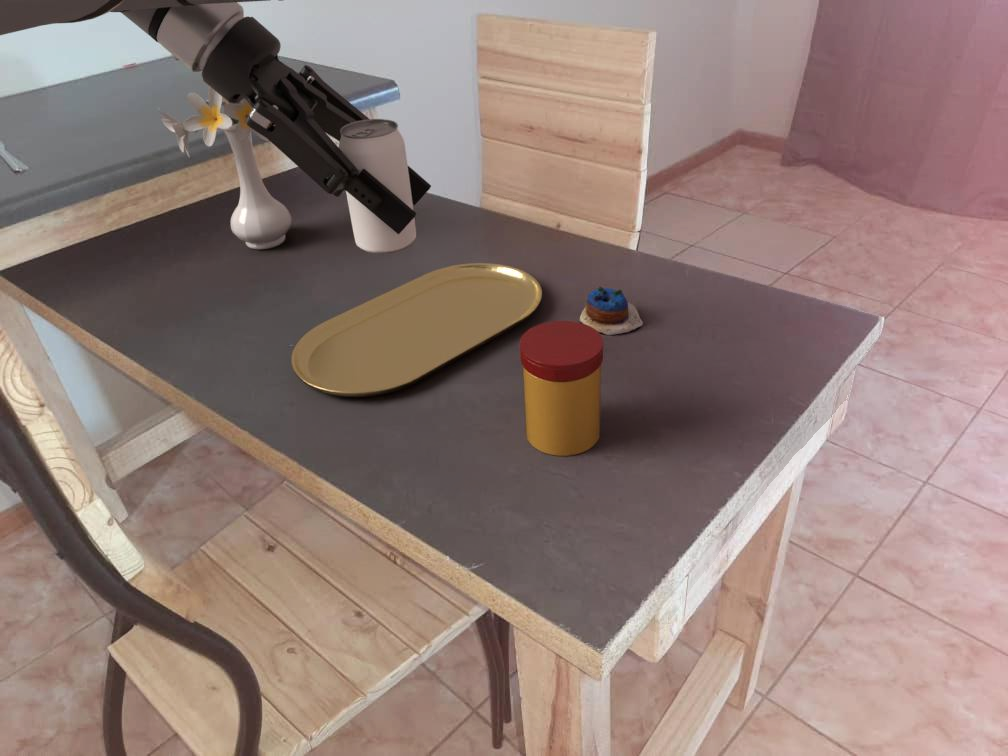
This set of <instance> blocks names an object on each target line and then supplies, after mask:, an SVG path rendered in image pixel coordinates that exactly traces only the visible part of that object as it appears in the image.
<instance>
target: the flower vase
mask: <svg viewBox="0 0 1008 756" xmlns="http://www.w3.org/2000/svg"><path fill="white" fill-rule="evenodd" d="M208 86H209V85H208ZM187 102H188V104H189V105H190V107H191V108H192V110H193V111H194V112H195V113H197V114H195V115H191V116H190V117H187V118H186V119H185V120H184V122H183V121H182V120H179V119H178V118H176V117H174V116H172V115H170V114H169V113H167V112H166V111H164V110H163V109H161V108H159V106H156V108H157V110H158V111H159V112H160V113H161V115H162V116H163V117H164V118H161V122H162V123H163V125H164V126H165V127H166V128H167V129H168V130H169V131H170V132H172V133H176V142H177V145H178V147H179V150H180V151H181V152H182V154H184V153H185V152H186V154H187V156H188V159H190V158H191V156H190V147H189V145H190V144H189V143H190V142H189V133H191V132H192V133H193V132H194V134H197V133H198V132H199V131H200V130H202V140H203V142H204V144H205V146H206V147H212V146H213V145H214V143H215V141H216V137H217V131H218V129H221V130H222V131H223V132H224V134H225V136H226V138H227V140H228V142H229V145H230V148H231V151H232V154H233V158H234V161H235V167H236V171H237V175H238V181H239V199H238V200H239V201H238V204H237V206H236V207H235V208H234V210H233V212H232V214H231V217H230V220H229V221H230V222H229V224H230V229H231V232H232V234H234V236H236V238H238V239H239V240H240V241H242V242H244V243H245V245H246V246H247V247H248V248H250V249H252V250H256V251H257V250H258V251H259V250H268V249H269V250H270V249H272V248H276V247H278V246H281V244H283V243H284V242H285V241H286V237H287V236H286V234H287V233H288V231H289V230H290V229H291V225H292V221H293V218H292V215H291V213H290V210H289V209H288V208H287V206H285V205H284V204H283V203H282V202H280V201H279V200H278V199H275V197H273V196H272V195H271V193H270V192H269V191H268V189H267V187H266V185H265V183H264V181H263V179H262V175H261V172H260V168H259V165H258V162H257V159H256V154H255V151H254V147H253V138H252V132H253V133H254V134H255V135H256V136H257V137H258V138H259V139H261V140H262V141H265V142H270V141H269V140H268V139H267V138H266V137H264V136H263V135H261V134H260V133H258V132H256V131H255V130H253V129H252V128H250V127H249V126H248V125H247V124H246V123H245V119H246V118H247V116H248V115H249V113H250V112H251V110H252V109H253V108H252V107H251V106H250V104H249V103H248V102H247V100H246V99H245V98H244V99H243V100H241V101H240V102H238V103H235V104H232V103H230V102H228V101H227V100H226V99H224V98H223V97H222V96H221V95H220V94H218V93H217V92H216V91H215V90H214V89H212V88H211V87H210V86H209V87H208V99H206V100H205V99H204V98H203V97H201V96H200V95H199V94H197V93H195V92H189V93H188V94H187ZM221 109H222V110H223V112H222V111H221Z"/></svg>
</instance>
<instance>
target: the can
mask: <svg viewBox="0 0 1008 756" xmlns="http://www.w3.org/2000/svg"><path fill="white" fill-rule="evenodd" d="M398 128H399V124H398V123H397V122H396V121H394V120H391V119H385V118H369V119H368V120H361V121H356V122H353V123H350V124H347V125H345V126H343V127H342V128H341V129H340V134H341V139H340V142H339V141H338V148H339V149H340V150H341V151H342V152H343V153H344V154H345V156H346V157H347V158H348V159H349V160H350V161H351V162H352V164H353V165H354V166H355V167H356V168H357V169H358V171H359V174H360V172H361V171H362V170H363V169H365V170H366V171H368V172H369V173H370V174H371V175H372V176H374V177H375V178H376V179H377V180H378V181H379V182H381V183H382V184H383V185H384V186H385V187H386V188H388V189H389V190H390V191H391V192H392V193H393V194H395V195H396V196H397V197H398V198H399V199H401V200H402V201H403V202H404V203H405V204H406V205H408V206H409V207H410V208H411V209H412V210H413V211H414V205H413V203H412V195H411V187H410V180H409V172H408V166H409V165H408V158H407V150H406V145H405V139H404V137H403V136H402V134H401V132H400V131H399V129H398ZM359 174H358V175H359ZM345 194H346V199H347V206H348V211H349V216H350V221H351V222H350V223H351V228H352V232H353V237H354V242H355V245H356V246H357V247H358V248H359V249H360V250H361V251H362V252H363V251H364V252H366V253H369V254H375V255H383V254H392V253H396V252H401V251H402V250H404V249H407V248H408V247H409V246H411V245H413V243H414V241H415V240H416V238H417V226H416V219H415V217H414V218H413V219H412V220H411V222H410V223H409V224H408V225H407V226H406V227H405V228H404V229H403V230H402V231H401V233H400V234H397V233H396V232H395V231H394V230H393V229H391V228H390V227H389V226H388V225H387V224H385V223H384V222H383V221H382V220H381V219H379V218H378V217H377V216H376V215H375V214H373V213H372V212H371V211H370V210H369V209H367V208H366V207H365V206H364V205H363V204H361V203H360V202H359V201H358V200H357V199H355V198H354V197H353V196H352V195H351V194H349V193H348V192H347V191H346V190H345Z"/></svg>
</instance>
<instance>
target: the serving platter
mask: <svg viewBox="0 0 1008 756" xmlns="http://www.w3.org/2000/svg"><path fill="white" fill-rule="evenodd" d="M542 299H543V290H542V286H541V284H540V283H539V281H538V280H537V279H536V278H535V277H533V276H532V275H531V274H530V273H528V272H526V271H524V270H521V269H519V268H516V267H513V266H510V265H505V264H499V263H488V262H475V263H461V264H455V265H454V264H453V265H449V266H446V267H442V268H439V269H435V270H433V271H430V272H428V273H425V274H423V275H421V276H419V277H417V278H415V279H412V280H410V281H408V282H406V283H404V284H401V285H400V286H398V287H396V288H393V289H391V290H389V291H387V292H384V293H383V294H380V295H378V296H375V297H374V298H372V299H370V300H368V301H365V302H364V303H362V304H359V305H357V306H354V307H353V308H351V309H348V310H347V311H344V312H342V313H340V314H338V315H335V316H334V317H331V318H330V319H327V320H325V321H324V322H321V323H320V324H318V325H316V326H314V327H313V328H311V329H310V330H309V331H308V332H306V333H305V334H304V335H303V336H302V337H301V338H300V339H299V340H298V342H297V343H296V344H295V346H294V347H293V350H292V353H291V358H290V360H291V361H290V362H291V368H292V370H293V372H294V374H295V375H296V377H297V378H298V379H300V381H301V382H303V383H304V384H306V385H307V386H308V387H309V388H312V389H314V390H316V391H319V392H321V393H324V394H328V395H331V396H336V397H337V396H338V397H345V398H346V397H347V398H363V397H366V398H367V397H375V396H380V395H385V394H389V393H393V392H396V391H399V390H402V389H405V388H406V387H409V386H411V385H413V384H416V383H418V382H419V381H422V380H423V379H425V378H427V377H428V376H431V375H432V374H434V373H435V372H437V371H439V370H441V369H443V368H444V367H446V366H448V365H449V364H451V363H453V362H455V361H456V360H458V359H460V358H462V357H464V356H465V355H467V354H469V353H470V352H472V351H474V350H475V349H478V348H479V347H481V346H483V345H485V344H486V343H488V342H490V341H492V340H494V339H496V338H497V337H499V336H501V335H502V334H504V333H506V332H508V331H509V330H511V329H513V328H514V327H516V326H518V325H520V324H521V323H523V322H525V321H526V320H528V319H529V318H530V317H531V316H532V315H533V314H534V313H535V312H536V311H537V309H538V308H539V306H540V305H541V302H542Z"/></svg>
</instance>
